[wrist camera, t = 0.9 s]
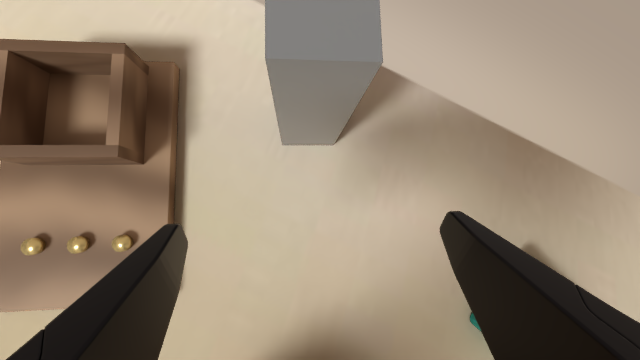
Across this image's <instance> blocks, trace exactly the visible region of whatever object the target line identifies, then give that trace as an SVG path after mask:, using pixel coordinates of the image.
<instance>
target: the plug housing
mask: <svg viewBox="0 0 640 360" xmlns="http://www.w3.org/2000/svg"><path fill="white" fill-rule="evenodd" d="M265 60H266V65H267V70H268V75H269V80H270V85H271V90H272V95H273V100H274V106H275V111H276V116H277V121H278V126H279V131H280V136H281V141H282V145H334V143H335V142H336V140H337V138H338V137H339V135H340V133H341V132H342V130H343V128H344V127H345V125H346V123H347V122H348V120H349V118H350V117H351V115H352V113H353V111H354V110H355V108H356V106H357V105H358V103H359V101H360V100H361V98H362V96H363V95H364V93H365V91H366V90H367V88H368V86H369V85H370V83H371V81H372V80H373V78H374V76H375V74H376V73H377V71H378V69H379V68H380V66H381V64H382V63H383V58H382V39H381V20H380V2H379V0H265Z"/></svg>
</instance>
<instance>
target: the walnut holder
mask: <svg viewBox="0 0 640 360" xmlns="http://www.w3.org/2000/svg"><path fill="white" fill-rule="evenodd" d="M178 95H179V68H178V66H177V65H176V64H175V63H174V62H146V61H142V60H141V59H140V58H139V57H138V56H137V55H136V54H135V53H134V52H133V51H132V50H131V49H130V48H129V47H128V46H127V45H126V44H125V43H100V42H72V41H44V40H16V39H0V161H1V164H0V312H14V311H31V310H49V309H66V308H68V307H69V306H70V305H71V304H72V303H73V302H75V301H76V300H77V299H78V298H79V297H80V296H82V295H83V294H84V293H85V292H86V291H88V290H89V289H90V288H91V287H92V286H93V285H95V284H96V283H97V282H98V281H99V280H100V279H102V278H103V277H104V276H105V275H106V274H107V273H109V272H110V271H111V270H112V269H113V268H114V267H116V266H117V265H118V264H119V263H120V262H121V261H123V260H124V259H125V258H126V257H127V256H129V255H130V254H131V253H132V252H133V251H134V250H136V249H137V248H138V247H139V246H140V245H141V244H143V243H144V242H145V241H146V240H147V239H148V238H150V237H151V236H152V235H153V234H154V233H155V232H157V231H158V230H159V229H160V228H161V227H162V226H164V225H166V224H174V200H175V174H176V147H177V121H178Z"/></svg>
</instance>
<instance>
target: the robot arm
mask: <svg viewBox="0 0 640 360" xmlns="http://www.w3.org/2000/svg"><path fill="white" fill-rule="evenodd" d="M440 234H441V237H442V240H443V243H444V246H445V249H446V252H447V254H448V257H449V260H450V263H451V266H452V269H453V271H454V274H455V276H456V278H457V280H458V283H459V285H460V287H461V289H462V291H463V293H464V295H465V297H466V300H467V302H468V304H469V306H470V308H471V310H472V312H473V315H474V317H475V319H476V321H477V323H478V325H479V327H480V330H481V332H482V334H483V336H484V338H485V340H486V342H487V344H488V347H489V349H490V351H491V353H492V355H493V357H494V359H495V360H640V323H639V322H637V321H635V320H634V319H632V318H630V317H628V316H627V315H625V314H623V313H622V312H620V311H618V310H616V309H615V308H613V307H611V306H610V305H608V304H607V303H605V302H603V301H602V300H600V299H599V298H597V297H595V296H594V295H592V294H590V293H589V292H587V291H586V290H584V289H583V288H581V287H579V286H578V285H575V284H574V283H573V282H571V281H570V280H568V279H567V278H565V277H564V276H562V275H560V274H559V273H557V272H556V271H554V270H553V269H551V268H549V267H548V266H546V265H545V264H543V263H541V262H540V261H538V260H537V259H535V258H534V257H532V256H530V255H529V254H527V253H526V252H524V251H523V250H521V249H519V248H518V247H516V246H515V245H513V244H512V243H510V242H508V241H507V240H505V239H504V238H502V237H500V236H499V235H497V234H496V233H494V232H493V231H491V230H489V229H488V228H486V227H485V226H483V225H482V224H480V223H478V222H477V221H475V220H474V219H472V218H470V217H469V216H467V215H466V214H464V213H463V212H460V211H450V212H448V213H447V214H446V216H445V218H444V220H443V222H442V224H441V226H440ZM187 248H188V241H187V238H186V235H185V233H184V231H183V228H182V226H181V225H180V224H178V223H176V224H166V225H164V226H162V227H161V228H160V229H159V230H158V231H157V232H155V233H154V234H153V235H152V236H151V237H150V238H148V239H147V240H146V241H145V242H144V243H143V244H141V245H140V246H139V247H138V248H137V249H136V250H134V251H133V252H132V253H131V254H130V255H129V256H127V257H126V258H125V259H124V260H123V261H121V262H120V263H119V264H118V265H117V266H116V267H114V268H113V269H112V270H111V271H110V272H109V273H107V274H106V275H105V276H104V277H103V278H102V279H100V280H99V281H98V282H97V283H96V284H95V285H93V286H92V287H91V288H90V289H89V290H88V291H86V292H85V293H84V294H83V295H82V296H80V297H79V298H78V299H77V300H76V301H75V302H73V303H72V304H71V305H70V306H69V307H68V308H66V309H65V310H64V311H63V312H62V313H61V314H59V315H58V316H57V317H56V318H55V319H54V320H52V321H51V322H50V323H49V324H48V325H47V326H46V327H45V329H43V330H41V331H39V332H38V333H37V334H36V335H35V336H33V337H32V338H31V339H30V340H29V341H28V342H26V343H25V344H24V345H23V346H22V347H20V348H19V349H18V350H17V351H16V352H14V353H13V354H12V355H11V356H10V357H8V358H7V359H6V360H158V357H159V354H160V351H161V348H162V345H163V341H164V338H165V335H166V332H167V329H168V326H169V322H170V319H171V316H172V313H173V310H174V307H175V303H176V300H177V297H178V293H179V289H180V284H181V279H182V274H183V269H184V263H185V258H186V253H187Z"/></svg>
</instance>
